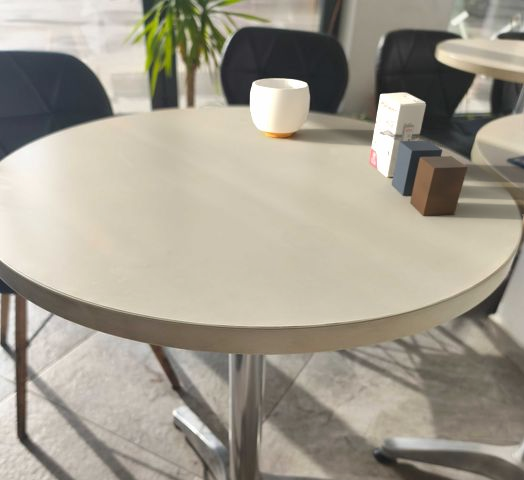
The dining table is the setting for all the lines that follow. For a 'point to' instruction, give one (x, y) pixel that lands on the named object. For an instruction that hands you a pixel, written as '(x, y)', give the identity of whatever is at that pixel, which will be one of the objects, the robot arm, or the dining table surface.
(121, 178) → the dining table surface
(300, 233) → the dining table surface
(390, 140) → the ink box
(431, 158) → the walnut block
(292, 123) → the cup
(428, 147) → the slate block
